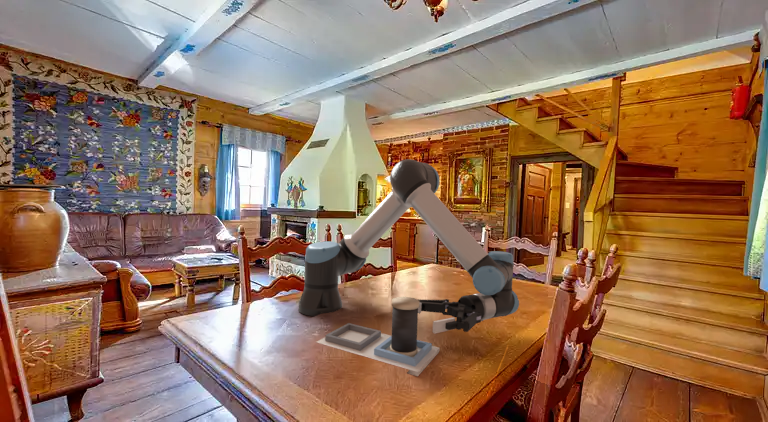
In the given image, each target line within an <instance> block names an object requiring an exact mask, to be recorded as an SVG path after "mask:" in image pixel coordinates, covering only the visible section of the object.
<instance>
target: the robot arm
mask: <svg viewBox="0 0 768 422" xmlns="http://www.w3.org/2000/svg"><path fill="white" fill-rule="evenodd" d="M389 176H390V177H389V181H390V185H391V191H390V192H389V193H388V195H386V197H385V198H384V199H383V200H382V201H381V202H380V203H379V204H378V205H377V207H376V208H375V209H374V210H373V211H372V212H371V213H370V214H369V215H368V217H366V218H365V220H364V221H363V222H362V223H361V224H360V225H359V226H358V227H357V228H356V230H355V231H354V232H352V233H347V234H345V236H343V237H342V238H341V240H340V241H339V242H336V241H318V242H317V241H316V242H313V243H310V244H309V245H307V247H306V248H305V255H304V285H303V286H304V288H303V290H302V294H301V296H300V300H299V302H298V312H299V313H300V314H302V315H305V316H310V317H317V316H319V315H321V314H330V313H334V312H338V311H339V310H341V309H343V301H342V298H341V293H340V290H339V277H340V276H342V275H347V274H350V273H355V272H357V271H359V270H360V269H362V268H363V266H364V265H365V263H366V261H367V258H368V256H369V255H370V249H371V248H373V246H374V245H375V244H376V243H377V242H378V241H379V240H380V239H381V238H382V237H383V236H384V235H385V233H387V231H389V229H390V228H391V227H392V226H394V224H396V222H397V221H398V220H399V219H400V218H401V217H402V216H403V215H404V214H405V213H406V212H408V210H409V209H411V208H413V210H414V211H415V212H416V213H417V214H418V216H419V217H420V218H421V219H422V220H423V222H424V223H425V224H426V225H427V226H428V228H429V229H430V230H431V231H432V232H433V233H434V234H435V235H436V237H438V239H439V240H440V241H441V243H442V244H443V245H444V246H445V247H446V249H448V251H449V252H450V253H451V254H452V256H453V257H455V259H456V260H457V261H458V263H459V264H460V265H461V267H463V269H465V271H466V272H467V274H469V276H470V277H471V278H472V284H473V286H474V288H475V290H476V291H477V293H473V294H466V295H462V296H461V297H459V299H458V300H457V301H450V299H448V298H445V299H444V298H443V299H418V300H419V308H418V315H420V314H421V313H422V312H426V313H440V314H442V315H443V316H451V317H449V318H443V319H438V320H433V321H432V333H433V334H439V333H443V332H448V331H453V330H457V331H460V330H462V331H463V332H465V333H467V332H469V331H470V330H471V329H472V328H473V327H474V326H475V325H476V324H479V323H481V322H484V321H485V320H489V319H490V320H491V319H494V318H499V317H506V316H509V315H512V314H514V313H516V312H517V311H518V309H519V308H520V307H519V306H520V300H519V298H518V295H517V294H516V292H515V291H514V290H513V277H514V266H515V263H514V255H513V254H512V253H511V252H507V251H500V250H499V251H498V250H497V251H496V250H494V251H492V250H491V251H486V250H485V249H484V248H483V246H482V245H481V244H480V243H479V242H478V241H477V239H475V237H474V236H473V235H472V234H471V233H470V232H469V231H468V229H466V228H465V226H464V225H463V224H462V223H461V222H460V221H459V219H458V218H457V217H456V216H455V215H454V214H453V213H452V212H451V211H450V209H449V208H448V207H447V206H446V205H445V204H444V202H443V201H441V199H440V198H439V197H438V196H437V195H436V193H437V191H438V189H439V187H440V182H441V181H440V175H439V173H438V170H437V169H436V168H435V167H433V166H432V165H430V164H429V163H427V162H421V161H418V160H415V159H410V158H407V159H403V160H400V161H399V162H397V163H396V164H395V165H394V166H393V168H392V169H391V171H390V175H389Z"/></svg>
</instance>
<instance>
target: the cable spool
mask: <svg viewBox="0 0 768 422" xmlns="http://www.w3.org/2000/svg"><path fill="white" fill-rule="evenodd" d="M419 300H420V299H419ZM419 300H418V299H417V298H415V297H411V296H397V297H394V298H392V299H391V306H392V310H391V311H392V313H391V314H392V316H391V317H392V319H391V336H392V339H391V345H390V351H392V352H395V353H399V354H403V355H406V356H410V357H414V356H415V355H416V354H417V353H418V347H417V340H418V321H419V319H418V318H419V317H418V316H419V313H418V308H419Z"/></svg>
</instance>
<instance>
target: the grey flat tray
mask: <svg viewBox="0 0 768 422" xmlns="http://www.w3.org/2000/svg"><path fill="white" fill-rule="evenodd" d="M391 339H392V334H387V333H382V331H381V330H380V329H379V330H378V329H376V328H370V327H366V326H362V325H358V324H353V323H350V322H348V323H346V324H344V325H342V326H340V327H338V328H337V329H334V330H333V331H331V332H329V333H326V335H324V337H322V338H320V339H319V340H317V341H315V343H318V344H320V345H325V346H328V347H330V348H334V349H336V350H337V349H338V350H342V351H344V352H347V353H351V354H354V355H358V356H360V357H366V358H369V359H372V360H375V361H379V362H382V363H385V364H389V365H392V366H396V367H398V368H403V369H406V370H408V371H407V372H406V374H409V375H412V376H415V377H419V376H420V374H421V373H422V372H423V371H424V370H425V369H426V367H427V366H428V365H429V364H430V363H431V362H432V361H433V359H434V358H435V357H436V356H437V355H438V354H439V352H440V350H441V349H440V346H439V347H438V346H435V345H433V343H431V342H428V341H423V340H420V339H417V347H418V353H417V354H416V355H415V356H414V357H410V356H406V355H403V354H399V353H395V352H392V351H390V345H391Z"/></svg>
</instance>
